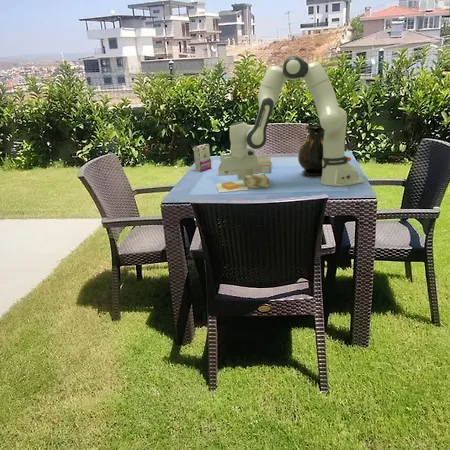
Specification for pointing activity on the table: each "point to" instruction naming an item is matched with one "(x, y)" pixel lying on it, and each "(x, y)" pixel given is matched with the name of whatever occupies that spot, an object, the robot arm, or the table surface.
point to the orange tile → (230, 185)
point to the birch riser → (256, 181)
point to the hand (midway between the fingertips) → (240, 177)
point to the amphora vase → (312, 151)
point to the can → (246, 173)
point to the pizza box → (263, 167)
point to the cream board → (241, 188)
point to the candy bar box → (202, 157)
